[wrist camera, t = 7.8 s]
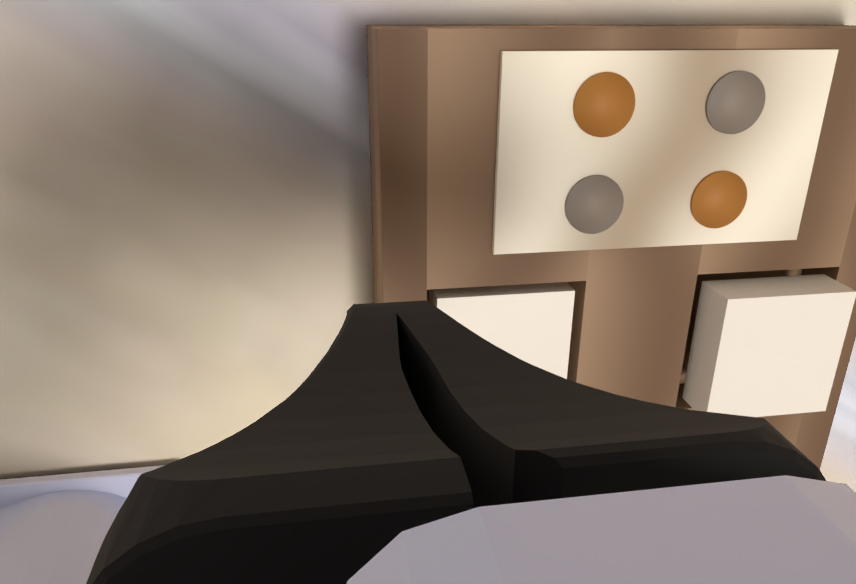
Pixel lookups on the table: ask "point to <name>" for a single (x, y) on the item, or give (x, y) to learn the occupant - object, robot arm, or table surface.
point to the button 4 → (767, 344)
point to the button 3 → (517, 319)
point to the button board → (616, 177)
